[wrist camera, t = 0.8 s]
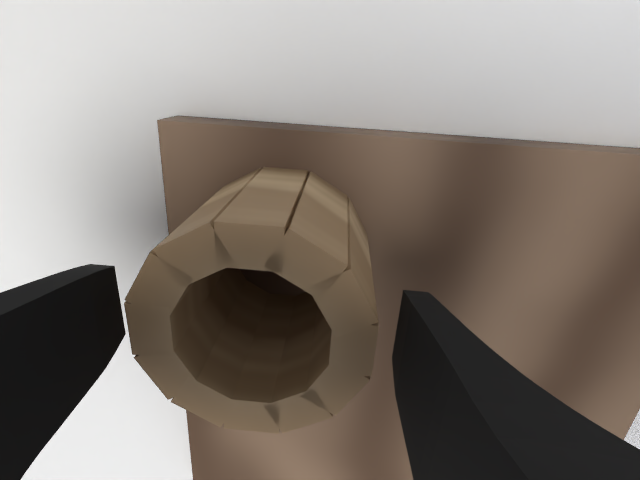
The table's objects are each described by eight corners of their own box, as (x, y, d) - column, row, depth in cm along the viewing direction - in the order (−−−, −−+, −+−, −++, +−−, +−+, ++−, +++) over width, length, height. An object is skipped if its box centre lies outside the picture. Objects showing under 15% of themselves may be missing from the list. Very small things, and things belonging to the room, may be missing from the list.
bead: (374, 175, 12) (391, 235, 7) (357, 324, 14) (362, 442, 10) (198, 162, 12) (109, 213, 8) (207, 311, 14) (142, 420, 10)
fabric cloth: (719, 154, 13) (765, 163, 11) (555, 510, 20) (570, 542, 18) (177, 115, 13) (157, 120, 12) (205, 474, 20) (195, 502, 19)
